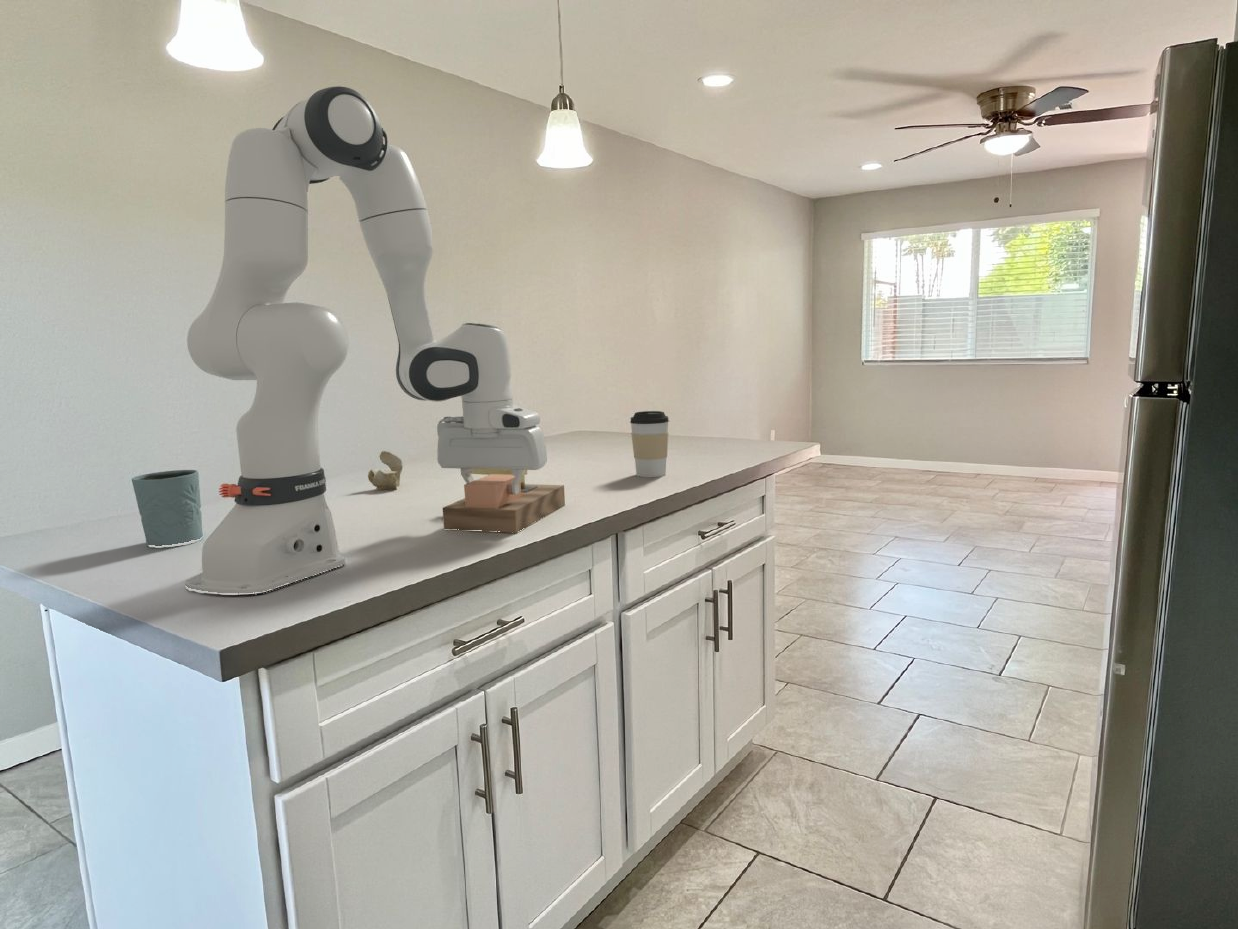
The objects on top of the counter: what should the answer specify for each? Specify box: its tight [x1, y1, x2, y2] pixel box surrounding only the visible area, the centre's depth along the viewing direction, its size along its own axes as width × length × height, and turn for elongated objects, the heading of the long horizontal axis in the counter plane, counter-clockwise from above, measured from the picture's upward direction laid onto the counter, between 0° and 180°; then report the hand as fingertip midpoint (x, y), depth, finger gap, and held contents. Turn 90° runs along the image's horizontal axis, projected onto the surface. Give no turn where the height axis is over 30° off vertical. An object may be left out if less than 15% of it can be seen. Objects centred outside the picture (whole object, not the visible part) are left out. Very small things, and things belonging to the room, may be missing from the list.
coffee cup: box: [629, 410, 670, 478], centre depth 182 cm, size 9×9×15 cm
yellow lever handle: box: [471, 469, 528, 488], centre depth 152 cm, size 12×2×5 cm, turn 65°
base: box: [442, 483, 566, 534], centre depth 146 cm, size 22×14×4 cm, turn 162°
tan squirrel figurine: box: [367, 450, 404, 491], centre depth 178 cm, size 9×6×10 cm
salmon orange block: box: [463, 474, 521, 508], centre depth 140 cm, size 10×6×4 cm, turn 162°
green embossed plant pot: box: [131, 469, 204, 546], centre depth 136 cm, size 10×10×12 cm
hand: (493, 493), depth 140 cm, fingers open, 6 cm apart
